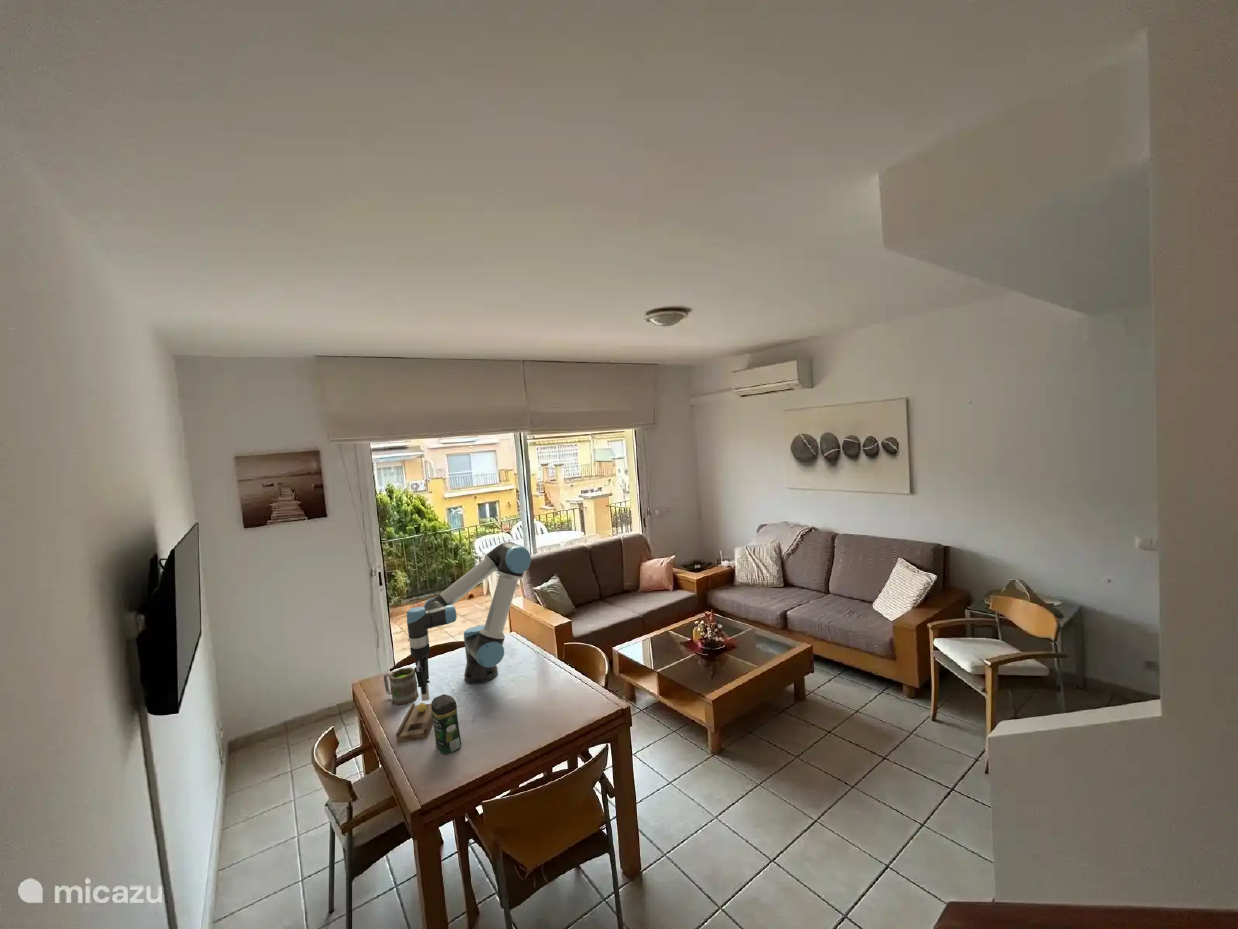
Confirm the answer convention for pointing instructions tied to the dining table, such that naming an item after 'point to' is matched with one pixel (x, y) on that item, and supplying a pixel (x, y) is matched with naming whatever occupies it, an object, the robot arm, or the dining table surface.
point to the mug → (402, 686)
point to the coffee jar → (446, 724)
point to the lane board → (415, 724)
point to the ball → (421, 707)
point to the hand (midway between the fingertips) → (425, 699)
